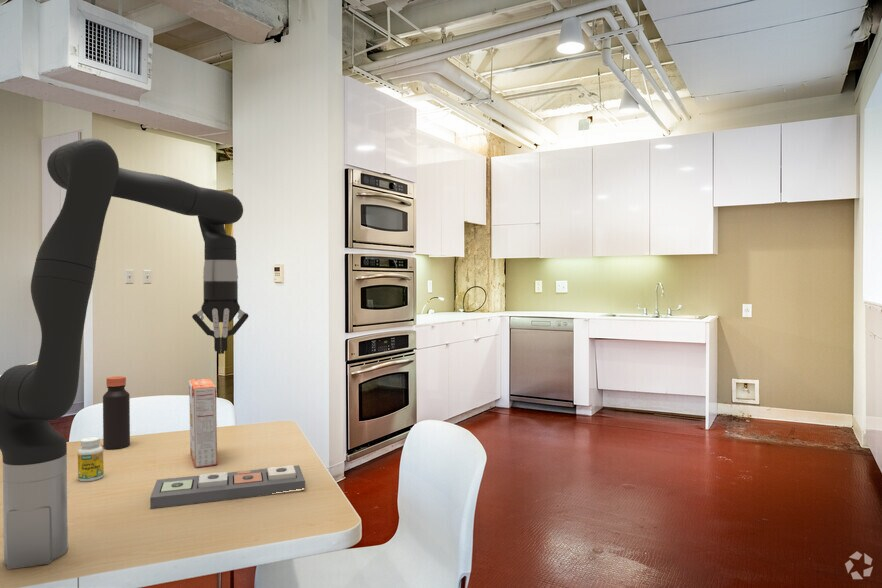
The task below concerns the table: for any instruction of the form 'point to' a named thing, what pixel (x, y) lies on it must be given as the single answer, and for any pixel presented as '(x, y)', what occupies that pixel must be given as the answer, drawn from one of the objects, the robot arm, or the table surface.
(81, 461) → the supplement bottle
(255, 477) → the key terracotta
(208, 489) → the grey flat board
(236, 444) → the table surface
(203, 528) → the table surface
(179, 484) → the key sage
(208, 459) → the cracker box
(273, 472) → the key cream
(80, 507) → the table surface
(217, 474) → the key white
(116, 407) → the vinegar
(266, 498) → the table surface
